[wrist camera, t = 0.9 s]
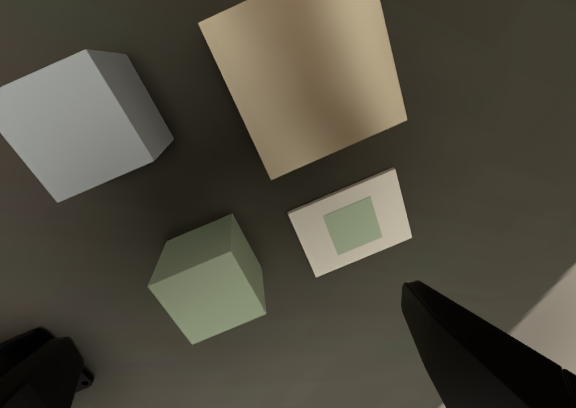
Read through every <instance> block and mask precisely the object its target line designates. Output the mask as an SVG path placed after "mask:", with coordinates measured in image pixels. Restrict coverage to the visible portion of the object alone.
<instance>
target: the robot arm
mask: <svg viewBox="0 0 576 408" xmlns="http://www.w3.org/2000/svg"><path fill="white" fill-rule="evenodd" d="M401 307H402V312H403V315H404V317H405V320H406V322H407V325H408V327H409V329H410V332H411V334H412V337H413V339H414V342H415V344H416V347H417V349H418V352H419V354H420V357H421V359H422V361H423V364H424V366H425V368H426V370H427V372H428V374H429V376H430V378H431V380H432V382H433V384H434V386H435V388H436V390H437V391H438V393H439V395H440V397H441V399H442V401H443V403H444V405H445V406H446V408H576V375H575V374H573V373H571V372H570V371H568V370H566V369H563V370H562V367H561V366H560V365H558V364H556V363H555V362H553V361H551V360H550V359H548V358H546V357H545V356H543V355H541V354H540V353H538V352H536V351H535V350H533V349H531V348H530V347H528V346H527V345H525V344H523V343H522V342H520V341H518V340H517V339H515V338H513V337H511V336H510V335H508V334H507V333H505V332H503V331H502V330H500V329H498V328H497V327H495V326H493V325H492V324H490V323H489V322H487V321H485V320H484V319H482V318H480V317H479V316H477V315H475V314H474V313H472V312H470V311H469V310H467V309H465V308H464V307H462V306H460V305H459V304H457V303H455V302H454V301H452V300H450V299H449V298H447V297H446V296H444V295H442V294H441V293H439V292H437V291H436V290H434V289H432V288H431V287H429V286H427V285H426V284H424V283H422V282H421V281H418V280H415V281H409V282H405V283H403V286H402V300H401ZM38 336H39V337H38ZM83 363H84V360H83V356H82V354H81V353H80V351H79V349H78V348H77V346H76V345H75V343H74V341H73V340H72V339H71V338H70V337H62V338H55V339H53V338H52V337H51V336H50V335H49V334H48V333H47V332H46V331H44V330H42V329H36V330H33V331H31V332H28V333H26V334H23V335H21V336H19V337H16V338H14V339H12V340H9V341H7V342H4V343H2V344H0V408H71V405H72V402H73V398H74V395H75V393H76V392H78V391H81V390H83V389H85V388H88V387H90V386H91V385H92V383H93V381H94V377H93V376H92V375H91V374H90V373H89V372H88V371H87V370H86V369H85V368H83Z"/></svg>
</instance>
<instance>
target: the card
mask: <svg viewBox="0 0 576 408" xmlns="http://www.w3.org/2000/svg"><path fill="white" fill-rule="evenodd" d="M287 213H288V215H289V218H290V220H291V222H292V224H293V227H294V229H295V231H296V233H297V236H298V238H299V240H300V242H301V245H302V247H303V249H304V251H305V254H306V256H307V258H308V260H309V263H310V265H311V267H312V269H313V272H314V274H315V276H316V277H319V276H321V275H323V274H326V273H328V272H331V271H333V270H335V269H338V268H340V267H343V266H345V265H347V264H350V263H352V262H355V261H357V260H360V259H362V258H364V257H367V256H369V255H372V254H374V253H376V252H379V251H381V250H384V249H386V248H388V247H391V246H393V245H396V244H398V243H400V242H403V241H405V240H408V239H410V238H412V235H411V231H410V227H409V223H408V219H407V215H406V211H405V207H404V203H403V199H402V194H401V190H400V186H399V182H398V178H397V174H396V170H395V169H394V168H393V167H392V168H390V169H387V170H385V171H383V172H380V173H378V174H376V175H373V176H371V177H369V178H366V179H364V180H361V181H359V182H357V183H354V184H352V185H350V186H347V187H345V188H342V189H340V190H338V191H335V192H333V193H331V194H328V195H326V196H324V197H321V198H319V199H316V200H314V201H312V202H309V203H307V204H305V205H302V206H300V207H297V208H295V209H293V210H290V211H288V212H287Z"/></svg>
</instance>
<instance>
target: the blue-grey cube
mask: <svg viewBox="0 0 576 408" xmlns="http://www.w3.org/2000/svg"><path fill="white" fill-rule="evenodd" d="M0 133H1V134H2V135H3V136H4V138H5V139H6V140H7V141H8V143H9V144H10V145H11V146H12V148H13V149H14V150H15V151H16V152H17V154H18V155H19V156H20V157H21V159H22V160H23V161H24V162H25V164H26V165H27V166H28V167H29V168H30V170H31V171H32V172H33V173H34V175H35V176H36V177H37V178H38V180H39V181H40V182H41V183H42V184H43V186H44V187H45V188H46V189H47V191H48V192H49V193H50V194H51V196H52V197H53V198H54V199H55V200H56V202H57V203H58V202H61V201H63V200H65V199H68V198H70V197H72V196H75V195H77V194H79V193H82V192H84V191H86V190H88V189H91V188H93V187H95V186H98V185H100V184H102V183H105V182H107V181H109V180H112V179H114V178H116V177H119V176H121V175H123V174H126V173H128V172H130V171H132V170H135V169H137V168H139V167H142V166H144V165H146V164H149V163H151V162H153V161H155V160H156V159H157V158H158V156H159V155H160V154H161V153H162V152H163V151H164V150H165V149H166V148H167V147H168V145H169V144H170V143H171V142H172V141H173V140H174V138H173V136H172V134H171V132H170V131H169V129H168V127H167V125H166V124H165V122H164V120H163V118H162V116H161V115H160V113H159V111H158V109H157V108H156V106H155V104H154V102H153V100H152V99H151V97H150V95H149V93H148V92H147V90H146V88H145V86H144V84H143V83H142V81H141V79H140V77H139V76H138V74H137V72H136V70H135V68H134V67H133V65H132V63H131V61H130V60H129V58H128V56H127V54H120V53H112V52H104V51H96V50H87V49H85V50H83V51H81V52H79V53H76V54H74V55H72V56H70V57H67V58H65V59H63V60H61V61H58V62H56V63H54V64H52V65H49V66H47V67H45V68H43V69H40V70H38V71H36V72H34V73H31V74H29V75H27V76H25V77H22V78H20V79H18V80H16V81H13V82H11V83H9V84H7V85H4V86H2V87H0Z"/></svg>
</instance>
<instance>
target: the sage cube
mask: <svg viewBox="0 0 576 408" xmlns="http://www.w3.org/2000/svg"><path fill="white" fill-rule="evenodd" d="M148 288H149V289H150V290H151V292H152V293H153V294H154V295H155V297H156V298H157V299H158V301H159V302H160V303H161V305H162V306H163V307H164V309H165V310H166V311H167V312H168V314H169V315H170V316H171V318H172V319H173V320H174V322H175V323H176V324H177V325H178V327H179V328H180V329H181V331H182V332H183V333H184V335H185V336H186V337H187V339H188V340H189V341H190V342H191V344H192V345H193V344H195V343H198V342H200V341H202V340H205V339H207V338H210V337H212V336H214V335H217V334H219V333H222V332H224V331H227V330H229V329H231V328H234V327H236V326H239V325H241V324H243V323H246V322H248V321H251V320H253V319H255V318H258V317H260V316H263V315H265V314H267V312H266V304H265V295H264V286H263V277H262V268H261V266H260V264H259V262H258V260H257V258H256V256H255V255H254V253H253V251H252V249H251V247H250V245H249V243H248V241H247V240H246V238H245V236H244V234H243V232H242V230H241V228H240V226H239V225H238V223H237V221H236V219H235V217H234V215H233V213H232V214H230V215H227V216H225V217H223V218H220V219H218V220H216V221H213V222H211V223H209V224H206V225H204V226H202V227H199V228H197V229H194V230H192V231H190V232H187V233H185V234H183V235H180V236H178V237H176V238H173V239H171V240H168V241H166V244H165V246H164V248H163V251H162V253H161V255H160V258H159V260H158V263H157V265H156V267H155V270H154V272H153V274H152V277H151V279H150V282H149V284H148Z"/></svg>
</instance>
